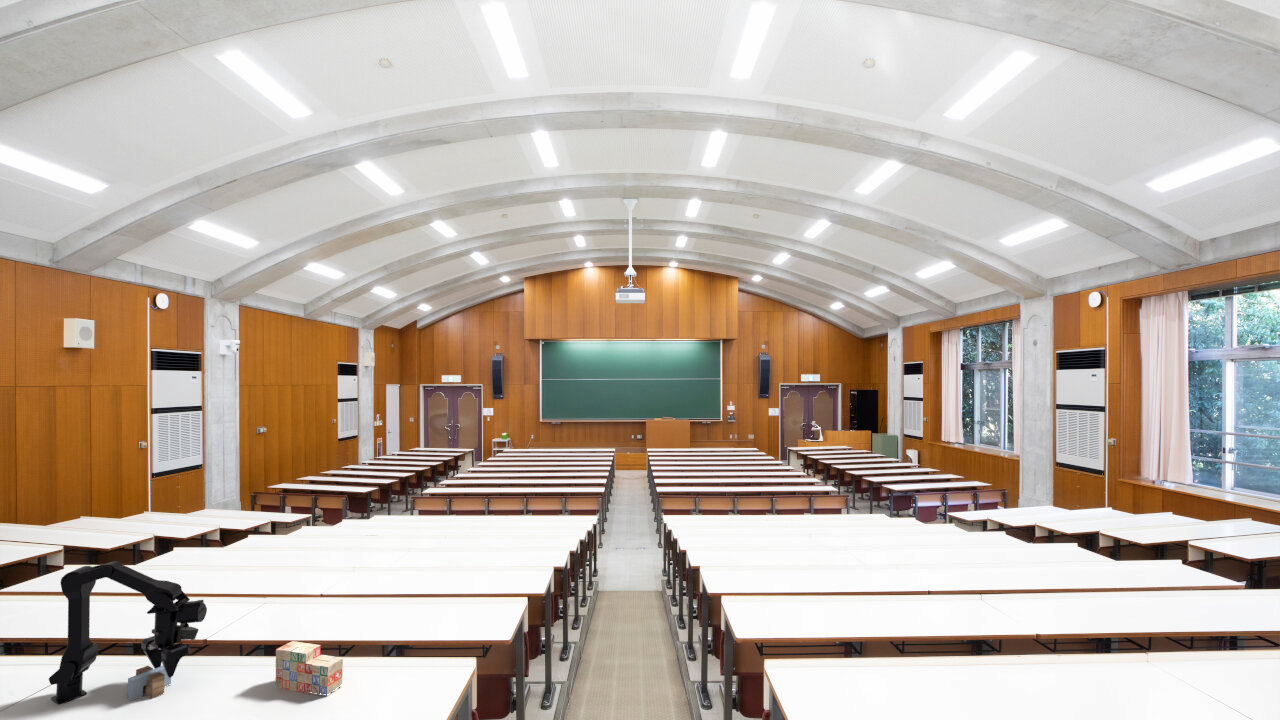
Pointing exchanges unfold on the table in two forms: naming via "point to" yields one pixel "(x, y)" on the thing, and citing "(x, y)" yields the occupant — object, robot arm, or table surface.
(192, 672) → the table surface
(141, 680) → the slate notched plate
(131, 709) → the table surface
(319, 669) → the stack of blocks
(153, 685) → the walnut notched block
